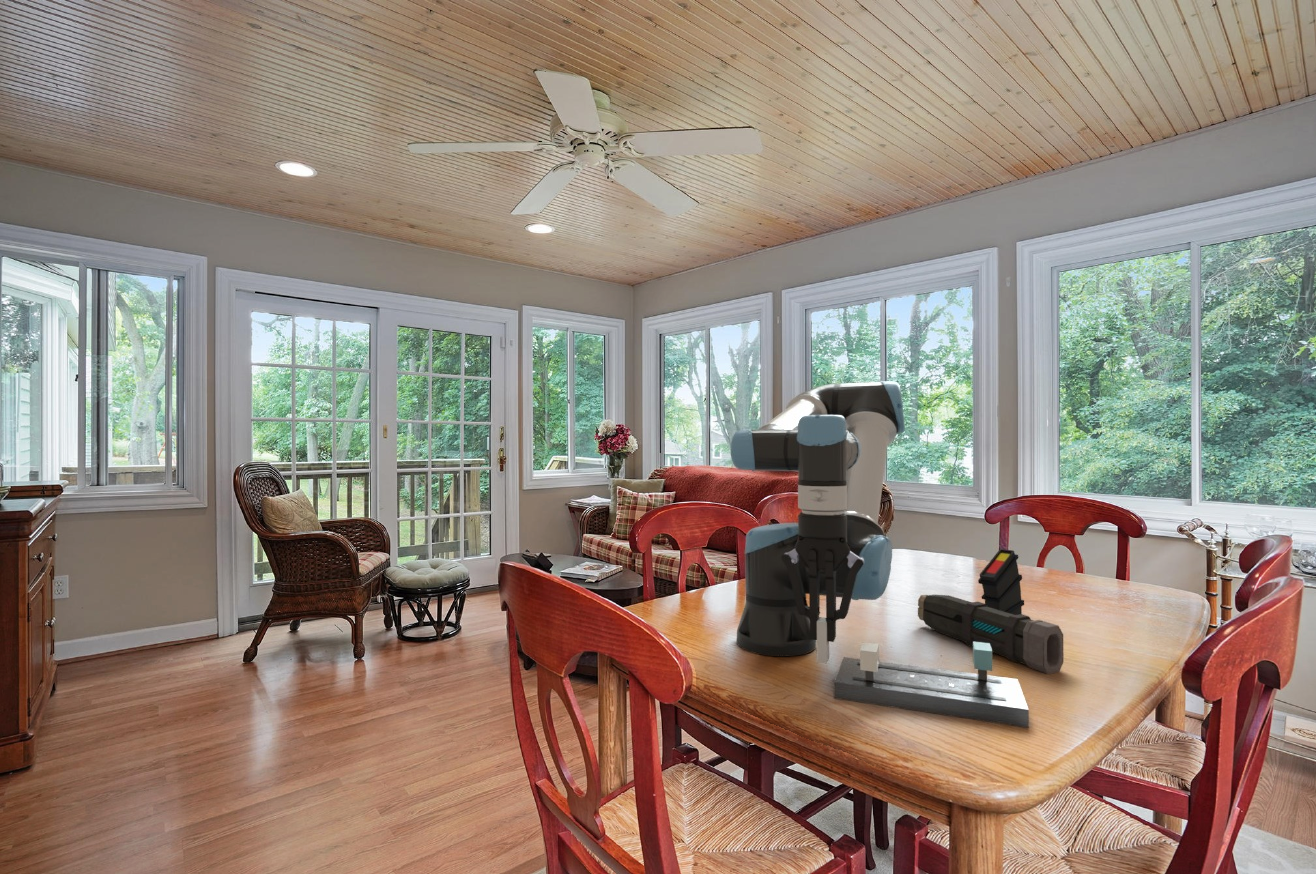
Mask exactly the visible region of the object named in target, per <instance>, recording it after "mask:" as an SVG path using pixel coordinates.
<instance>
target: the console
mask: <svg viewBox="0 0 1316 874" xmlns="http://www.w3.org/2000/svg"><path fill="white" fill-rule="evenodd" d="M833 683H834V684H833V685H834V686H833V687H834V690H833V692H834V693H833V695H834V696H833V697H834V699H838V700H845V701H852V702H857V703H863V704H871V705H876V706H877V705H878V706H884V707H890V708H897V709H903V710H904V709H905V710H910V711H917V712H923V713H929V714H935V715H936V714H937V715H943V716H949V717H956V718H963V719H969V720H976V721H982V722H987V723H988V722H989V723H995V724H1001V725H1008V726H1014V727H1021V728H1028V729H1029V727H1030V713H1029V712H1030V709H1029V707H1028V704H1027V701H1026V698H1025V696H1024V694H1023V690H1022V687H1021V684H1020V682H1019V680H1018V678H1011V677H1007V676H1006V677H1004V676H997V675H996V676H995V675H989V674H987V680H982V679H978V673H975V672H974V673H973V672H966V671H956V670H950V669H942V668H934V667H933V668H932V667H926V666H919V665H910V664H904V663H903V664H902V663H894V662H887V661H880V660H879V665H878V669H877V672H874V681H870V680H865V670H860V658H856V657H848V656H843V659H842V661H841V664H840V666H839V668H838V670H837V674H836V677H835V679H834V680H833Z"/></svg>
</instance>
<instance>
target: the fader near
mask: <svg viewBox="0 0 1316 874" xmlns="http://www.w3.org/2000/svg"><path fill="white" fill-rule="evenodd" d="M879 645H880V644H878V643H870V642H862V644H861V645H860V649H859V659H860V670H865V680H870V681H874V672H877V669H878V665H879V661H880V658H879V657H880V656H879V655H880V654H879V653H880V651H879V650H880V649H879V648H880V646H879Z"/></svg>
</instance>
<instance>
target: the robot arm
mask: <svg viewBox="0 0 1316 874" xmlns="http://www.w3.org/2000/svg"><path fill="white" fill-rule="evenodd" d="M903 407H904V406H903V398H902V389H901V386H900V384H899V383H898V382H896V381H891V380H890V381H886V380H885V381H883V380H878V381H868V382H866V381H862V382H861V381H860V382H841V383H836V382H835V383H828V384H822V385H819V386H816V387H813V388H810V389H808V390H806V391H804V392H801V393H799V394H797V395H796V396H795V397H793V398H792V399H791V400H790V401H789V402H788V403H787V404H786V407H785V409H784V410H783V411H782V412H780V413H779V414H777V415H776V416H774V417H773V418H772V419H770V420H768V422H766V423H765V424H763V425H762V426H761V427H759V428H757V429H751V428H748V429H741V430H740V429H738V430H737V431H735V432H734V434H733V436H732V439H731V443H730V457H731V461H732V464H733V465H734V467H735V468H736V469H738V470H741V471H743V470H744V471H751V472H756V471H757V472H759V471H760V472H761V471H762V472H764V471H765V472H771V471H772V472H797V473H798V474H797V479H798V481H797V482H798V483H797V508H798V509H799V511H800V510H801V512H800V513H799V514H798V515H797V516H798V517H797V522H784V523H773V524H767V525H761V526H756V527H753V528H751V529H749V530H748V531H747V532H746V535H745V550H744V551H743V553H744V562H745V563H744V566H745V567H744V570H745V572H744V574H745V605H744V606H743V610H742V614H741V616H740V620H739V623H738V627H737V630H736V644H737V645H738V646H739V647H740V648H741V649H743V650H745V651H747V652H751V653H754V654H758V655H763V656H770V657H794V656H801V655H805V654H808V653H811V652H812V651H814V650H815V649H816V664H821V665H822V664H823V665H828V662H829V660H830V643H834V642H835V639H836V637H837V621H839V620H844V619H846V617H847V616H848V613H849V609H850V606H851V605H850V604H851V601H859V600H865V601H869V600H870V601H874V600H875V601H876V600H878V599H880V598H881V597H882V596H883V595H884V593H885V592H886V589H887V587H888V583H889V580H890V576H891V575H890V574H891V570H892V559H893V545H892V541H891V539H890V538H889V537H888V536H885V535H886V534H885V531H884V529H883V527H881V525H880V524H879V517H880V509H881V500H882V492H883V484H884V476H885V468H886V467H885V466H886V459H887V452H888V446H890V445H891V444H892V443H893V442H894V441H895V439H896V436H897V435H898V434H899V435H900V433H904V432H905V430H906V426H905V424H906V423H905V416H904V408H903ZM807 594H808V597H809V601H808V600H807ZM820 596H823V597H825V611H826V612H825V614H826V615H825V617H822V616H820V614H821V611H820V610H821V609H820V608H821V607H820V606H821V605H820V603H821V602H820V600H821V599H820ZM837 598H841V601H840V605H839V609H837ZM807 601H808V602H807ZM808 603H809V605H808Z"/></svg>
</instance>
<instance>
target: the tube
mask: <svg viewBox="0 0 1316 874" xmlns="http://www.w3.org/2000/svg"><path fill="white" fill-rule="evenodd" d="M917 601H918V602H917V606H918V607H917V617H918V619H919V620H920V621H923V622H924V624H925V625H926V626H928V627H929V628H931V629H932V630H934V631H936V632H937V633H940V634H942V635H945V636H947V637H951V638H954V639H956V640H958V641H962V642H964V643H965V644H966V645H967V646H969V647H972V648H973V642H982V643H990V646H991V649H992V654H993V653H994V654H997V655H999V656H1002V657H1005V658H1007V659H1008V661H1009V662H1012V663H1016V664H1019V663H1021V664H1022V665H1023V664H1024V665H1026V666H1027V668H1030V669H1033V670H1035V671H1038V672H1041V673H1043V674H1046V675H1050V674H1055V673H1060V672H1061V670H1062V667H1063V664H1064V633H1063V631H1062V629H1061V628H1060V626H1059V625H1057V624H1055V623H1051V622H1047V621H1043V620H1041V619H1035V620H1033V619H1031V617H1030V616H1028V615H1025V614H1023V613H1022V614H1019V615H1013V614H1010V613H1007V612H1003V611H1000V610H996V609H993V608H990V607H988V606H987V605H986V604H985V602H981V601H969V600H965V599H962V598H959V597H955V596H952V595H946V594H920V596H919V597H918V600H917Z"/></svg>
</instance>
